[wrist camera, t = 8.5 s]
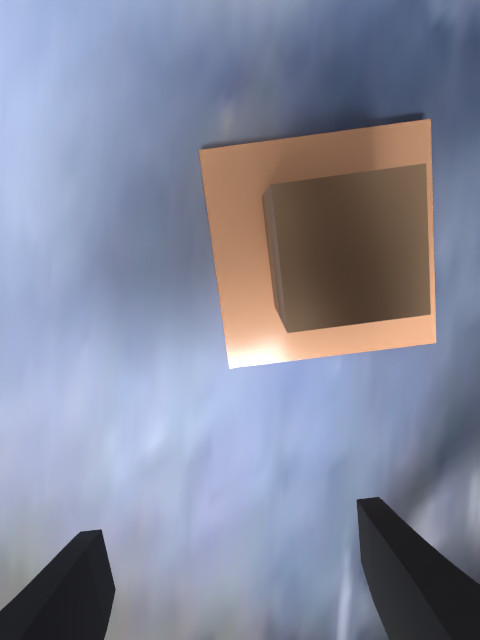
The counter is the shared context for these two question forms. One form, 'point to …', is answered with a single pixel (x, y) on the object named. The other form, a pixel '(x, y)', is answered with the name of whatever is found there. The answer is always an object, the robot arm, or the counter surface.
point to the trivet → (252, 250)
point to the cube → (349, 248)
